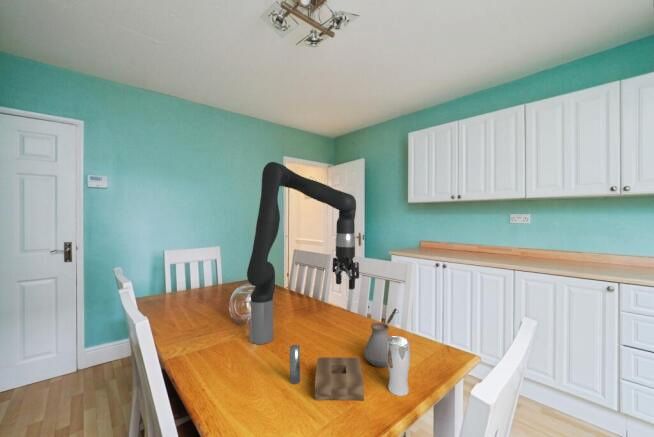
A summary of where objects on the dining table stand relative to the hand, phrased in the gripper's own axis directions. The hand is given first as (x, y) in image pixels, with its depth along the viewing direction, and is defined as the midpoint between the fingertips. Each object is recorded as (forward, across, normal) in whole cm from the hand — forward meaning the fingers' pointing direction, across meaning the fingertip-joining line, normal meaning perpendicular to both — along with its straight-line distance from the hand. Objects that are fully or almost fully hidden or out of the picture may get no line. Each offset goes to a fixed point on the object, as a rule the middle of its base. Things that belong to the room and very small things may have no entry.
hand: (345, 286), depth 107 cm
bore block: (+25, +16, -14) cm, 33 cm away
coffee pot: (+25, +11, +11) cm, 30 cm away
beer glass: (+25, +28, 0) cm, 38 cm away
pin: (+26, +7, -25) cm, 36 cm away
